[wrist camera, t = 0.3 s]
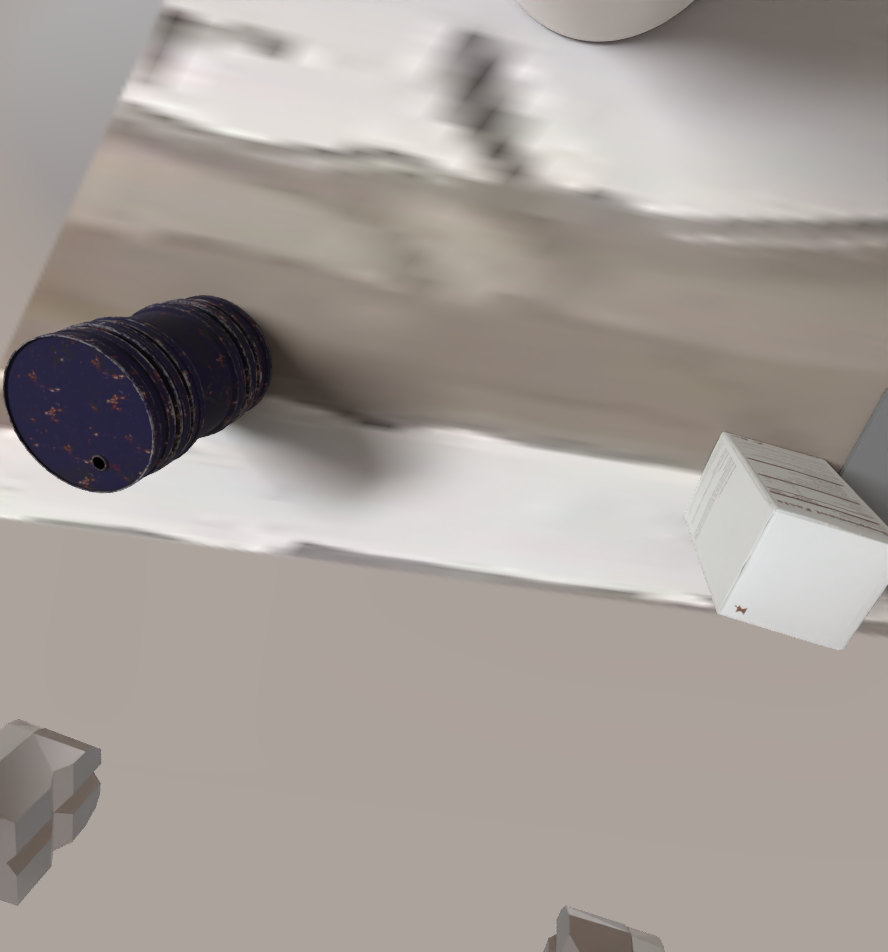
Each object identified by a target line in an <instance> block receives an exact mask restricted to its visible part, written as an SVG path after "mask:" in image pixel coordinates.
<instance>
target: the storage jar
mask: <svg viewBox="0 0 888 952" xmlns="http://www.w3.org/2000/svg"><path fill="white" fill-rule="evenodd" d="M271 373H272V363H271V355H270V351H269V348H268V345H267V342H266V340H265V337H264V336H263V334H262V332H261V330H260V329H259V327H258V326H257V325H256V323H255V322H254V321H253V319H252V318H251V317H250V316H249V315H248V314H247V313H246V312H244V311H243V310H242V309H241V308H239V307H238V306H236V305H235V304H233V303H231V302H229V301H227V300H224V299H222V298H219V297H214V296H206V295H200V296H193V297H189V298H186V299H176V300H171V301H166V302H163V303H156V304H152V305H149V306H147V307H145V308H143V309H141V310H139V311H138V312H136V313H134V314H133V315H132V316H130V317H104V318H98V319H95V320H92V321H90V322H84V323H80V324H76V325H72V326H70V327H67V328H64V329H62V330H61V331H58V332H55V333H49V334H46V335H42V336H38V337H35V338H33V339H30V340H28V341H26V342H25V343H23V344H22V345H20V346H19V347H18V348H17V349H16V350H15V351H14V352H13V354H12V355H11V357H10V359H9V360H8V363H7V366H6V368H5V371H4V378H3V397H4V403H5V408H6V411H7V414H8V417H9V420H10V422H11V424H12V427H13V429H14V431H15V433H16V434H17V436H18V438H19V440H20V441H21V443H22V444H23V445H24V447H25V448H26V449H27V451H28V452H29V453H30V454H31V455H32V457H33V458H34V459H35V460H36V461H37V462H38V463H39V464H40V465H41V466H42V467H44V468H45V469H46V470H47V471H48V472H50V473H51V474H52V475H54V476H55V477H57V478H58V479H60V480H62V481H63V482H65V483H67V484H69V485H71V486H74V487H76V488H79V489H82V490H86V491H89V492H96V493H113V492H117V491H121V490H124V489H126V488H128V487H130V486H132V485H133V484H135V483H137V482H138V481H139V480H141V479H142V478H143V477H146V476H147V475H149V474H152V473H154V472H156V471H158V470H160V469H161V468H163V467H165V466H166V465H168V464H169V463H170V462H172V461H173V460H175V459H177V458H179V457H181V456H182V455H183V454H185V453H186V452H187V451H188V449H189V448H190V447H191V446H192V445H193V444H194V443H195V442H196V440H197V439H199V438H202V437H205V436H209V435H212V434H215V433H217V432H219V431H221V430H223V429H224V428H225V427H226V426H228V425H230V424H231V423H233V422H234V421H236V420H237V419H238V418H240V417H241V416H242V415H243V414H244V413H245V412H246V411H248V410H250V409H251V408H253V407H254V406H255V405H257V404H258V403H259V402H260V400H261V399H262V398H263V397H264V395H265V393H266V392H267V389H268V387H269V384H270V380H271Z"/></svg>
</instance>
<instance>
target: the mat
mask: <svg viewBox="0 0 888 952" xmlns="http://www.w3.org/2000/svg"><path fill="white" fill-rule="evenodd" d="M839 476H840V477H841V478H842V479H843V480H844V481H845V482H846V483H847V484H848V485H849V486H850V487H851V488H852V489H853V490H854V491H855V493H856V494H857V495H858V496H859V497H860V498H861V499H862V500H863V501H864V502H865V503H866V504H867V505H868V506H869V507H870V508H871V509H872V510H873V511H874V513H875V514H876V515H877V516H878V517H879V518H880V519H881V520H882V521H883V522H884V523H885V524H886V525H887V526H888V389H886V391H885V392H884V394H883V396H882V398H881V400H880V401H879V403H878V405H877V407H876V408H875V410H874V412H873V414H872V416H871V417H870V419H869V421H868V423H867V425H866V426H865V428H864V430H863V432H862V434H861V435H860V437H859V439H858V441H857V443H856V444H855V446H854V448H853V450H852V452H851V453H850V455H849V457H848V459H847V461H846V462H845V464H844V466H843V468H842V470H841V471H840V473H839Z"/></svg>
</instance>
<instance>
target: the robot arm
mask: <svg viewBox="0 0 888 952" xmlns="http://www.w3.org/2000/svg"><path fill="white" fill-rule="evenodd" d="M516 1H517V2H518V3H519V5H520V6H521V7H522V8H523V9H524V10H525V11H526V12H527V13H528V14H529V15H530V16H531V17H533V18H534V19H535V20H536V21H538V22H539V23H541V24H542V25H544V26H545V27H547V28H549V29H550V30H552V31H554V32H557V33H559V34H561V35H564V36H567V37H570V38H574V39H578V40H584V41H596V42H599V41H614V40H620V39H625V38H629V37H632V36H636V35H638V34H641V33H644V32H646V31H649V30H651V29H653V28H655V27H657V26H659V25H661V24H663V23H664V22H666V21H668V20H669V19H671V18H672V17H674V16H675V15H677V14H678V13H679V12H681V11H682V10H683V9H685V8H686V7H687V6H688V5H689V4H691V3H692V2H693V1H694V0H516ZM100 764H101V749H100V748H97V747H94V746H91V745H88V744H86V743H83V742H81V741H78V740H75V739H73V738H70V737H67V736H64V735H62V734H59V733H56V732H54V731H51V730H48V729H46V728H43V727H40V726H37V725H34V724H31V723H29V722H26V721H23V720H20V719H18V720H15V721H13V722H11V723H8V724H6V725H5V726H3V727H2V728H1V729H0V900H2V901H5V902H8V903H11V904H14V905H19V903H20V902H21V901H22V900H23V899H24V898H25V896H26V895H27V894H28V893H29V892H30V891H31V889H32V888H33V887H34V886H35V885H36V884H37V883H38V881H39V880H40V879H41V878H42V877H43V875H44V874H45V873H46V872H47V871H48V870H49V869H50V867H51V864H52V856H53V851H54V850H56V849H58V848H60V847H63V846H65V845H66V844H69V843H71V842H73V840H74V839H75V838H76V837H77V835H78V834H79V833H80V832H81V831H82V829H83V828H84V827H85V826H86V824H87V822H88V820H89V818H90V817H91V815H92V813H93V811H94V810H95V808H96V805H97V801H98V798H99V795H100V782H99V780H98V778H97V777H96V775H95V773H94V771H95V770H96V769H97V768H98V766H99V765H100ZM544 952H664V946H663V944H662V942H661V940H660V938H659V937H657V936H655V935H652V934H649V933H646V932H643V931H640V930H636V929H633V928H630V927H626V926H625V925H624V924H621V923H618V922H615V921H612V920H609V919H606V918H603V917H600V916H597V915H594V914H590V913H587V912H584V911H581V910H578V909H575V908H572V907H568V906H565V907H563V909H562V910H561V912H560V914H559V916H558V918H557V934H556V935H554V936H552V937H550V938H548V941H547V944H546V946H545V949H544Z"/></svg>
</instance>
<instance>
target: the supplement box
mask: <svg viewBox="0 0 888 952" xmlns="http://www.w3.org/2000/svg"><path fill="white" fill-rule="evenodd" d="M683 515H684V517H685V520H686V523H687V526H688V529H689V532H690V535H691V538H692V541H693V544H694V547H695V550H696V553H697V556H698V558H699V561H700V564H701V567H702V570H703V573H704V576H705V579H706V582H707V585H708V588H709V591H710V593H711V596H712V599H713V602H714V605H715V608H716V611H717V613H718V614H719V615H722V616H726V617H729V618H733V619H736V620H739V621H743V622H746V623H749V624H752V625H756V626H759V627H763V628H765V629H769V630H772V631H775V632H779V633H782V634H785V635H789V636H792V637H795V638H798V639H801V640H805V641H808V642H812V643H815V644H818V645H821V646H825V647H828V648H831V649H835V650H839V651H842V650H844V648H845V647H846V645H847V644H848V642H849V641H850V639H851V638H852V636H853V635H854V633H855V632H856V630H857V629H858V628H859V626H860V625H861V623H862V622H863V620H864V619H865V617H866V616H867V614H868V613H869V612H870V610H871V609H872V607H873V606H874V604H875V603H876V601H877V600H878V598H879V597H880V596H881V594H882V593H883V591H884V590H885V588H886V587H887V585H888V526H887V525H886V524H885V523H884V522H883V521H882V520H881V519H880V518H879V517H878V516H877V515H876V514H875V513H874V511H873V510H872V509H871V508H870V507H869V506H868V505H867V504H866V503H865V502H864V501H863V500H862V499H861V498H860V497H859V496H858V495H857V494H856V493H855V491H854V490H853V489H852V488H851V487H850V486H849V485H848V484H847V483H846V482H845V481H844V480H843V479H842V478H841V477H840V476H839V474H838V473H837V472H836V471H835V470H834V469H833V468H832V467H831V466H830V465H829V464H828V463H827V462H826V461H825V460H823V459H820V458H816V457H812V456H809V455H805V454H802V453H798V452H795V451H791V450H787V449H784V448H780V447H777V446H773V445H770V444H766V443H763V442H759V441H756V440H752V439H749V438H745V437H741V436H738V435H734V434H731V433H727V432H722V434H721V436H720V438H719V440H718V442H717V444H716V446H715V448H714V450H713V452H712V454H711V457H710V459H709V461H708V463H707V465H706V467H705V469H704V471H703V474H702V476H701V478H700V480H699V482H698V484H697V486H696V489H695V491H694V493H693V495H692V497H691V499H690V502H689V504H688V506H687V508H686V510H685V512H684V514H683Z"/></svg>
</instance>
